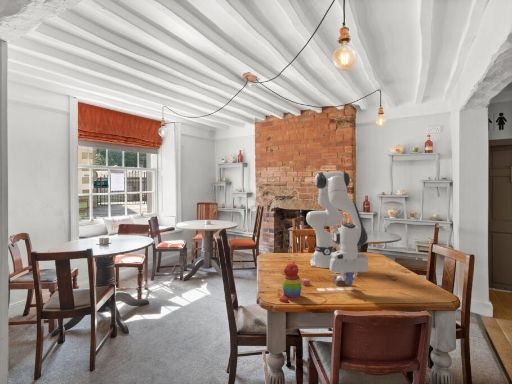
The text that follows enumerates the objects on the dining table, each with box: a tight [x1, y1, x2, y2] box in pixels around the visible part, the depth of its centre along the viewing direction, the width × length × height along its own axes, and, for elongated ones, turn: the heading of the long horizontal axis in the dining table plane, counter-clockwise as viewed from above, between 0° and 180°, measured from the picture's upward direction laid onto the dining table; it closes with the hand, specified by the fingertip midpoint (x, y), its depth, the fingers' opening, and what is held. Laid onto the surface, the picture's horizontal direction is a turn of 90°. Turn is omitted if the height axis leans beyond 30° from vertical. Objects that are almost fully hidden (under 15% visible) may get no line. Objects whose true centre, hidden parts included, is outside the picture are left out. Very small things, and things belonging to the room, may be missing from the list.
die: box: [300, 277, 311, 287], centre depth 165 cm, size 4×4×4 cm
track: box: [315, 286, 354, 292], centre depth 157 cm, size 8×22×1 cm, turn 94°
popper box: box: [331, 276, 348, 287], centre depth 166 cm, size 7×7×4 cm
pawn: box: [344, 272, 354, 286], centre depth 157 cm, size 4×4×7 cm
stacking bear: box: [279, 262, 303, 303], centre depth 147 cm, size 11×10×18 cm
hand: (348, 280), depth 157 cm, fingers closed on pawn, 4 cm apart
